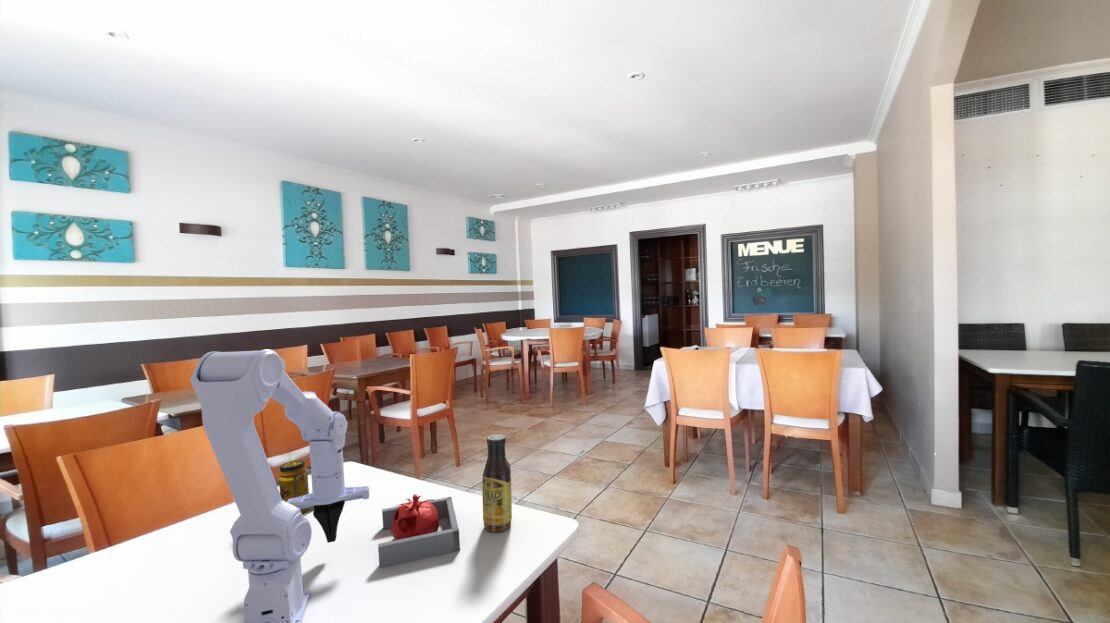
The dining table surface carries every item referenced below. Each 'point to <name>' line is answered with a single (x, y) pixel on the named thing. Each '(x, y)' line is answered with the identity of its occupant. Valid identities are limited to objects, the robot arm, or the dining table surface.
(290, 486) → the condiment
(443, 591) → the dining table surface
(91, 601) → the dining table surface
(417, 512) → the pomegranate
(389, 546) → the tray
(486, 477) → the sauce bottle
